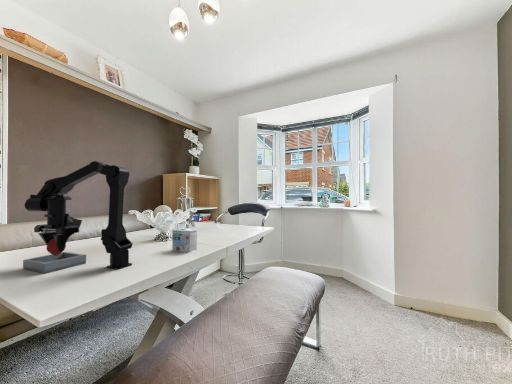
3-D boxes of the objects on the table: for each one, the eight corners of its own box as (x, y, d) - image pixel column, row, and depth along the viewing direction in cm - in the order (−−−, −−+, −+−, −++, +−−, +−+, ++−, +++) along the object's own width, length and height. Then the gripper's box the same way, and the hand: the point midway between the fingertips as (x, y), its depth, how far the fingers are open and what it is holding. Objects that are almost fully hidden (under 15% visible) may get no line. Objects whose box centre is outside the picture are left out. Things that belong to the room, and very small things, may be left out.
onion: (69, 254, 94) (69, 234, 94) (55, 257, 88) (56, 236, 88) (56, 253, 95) (56, 234, 95) (42, 257, 89) (42, 236, 89)
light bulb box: (171, 250, 117) (171, 229, 117) (179, 248, 123) (179, 227, 123) (190, 252, 114) (190, 230, 114) (197, 249, 120) (197, 228, 120)
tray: (85, 263, 95) (86, 254, 95) (44, 273, 82) (44, 264, 82) (64, 259, 101) (65, 251, 101) (23, 269, 88) (23, 259, 88)
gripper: (93, 210, 96) (92, 248, 96) (65, 209, 103) (64, 244, 102) (62, 212, 85) (62, 254, 85) (33, 211, 92) (33, 250, 92)
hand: (56, 250), depth 92 cm, fingers closed on onion, 6 cm apart
